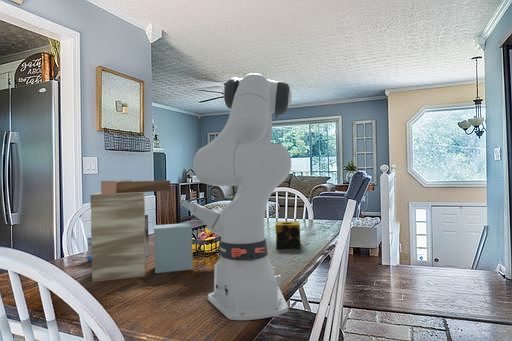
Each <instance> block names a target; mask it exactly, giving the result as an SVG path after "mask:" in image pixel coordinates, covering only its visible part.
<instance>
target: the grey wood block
mask: <svg viewBox="0 0 512 341" xmlns="http://www.w3.org/2000/svg"><path fill="white" fill-rule="evenodd" d="M89 198H90V199H89V200H90V234H91V235H90V237H91V245H92V261H91V278H92V281H91V282H92V283H93V282H94V283H95V282H106V281H113V280H114V281H115V280H124V279H132V278H141V277H143V278H144V277H145V276H146V267H147V257H146V242H145V215H146V210H145V209H146V208H145V206H146V205H145V192H131V193H116V194H101V192H96V193H91V194H90V195H89Z"/></svg>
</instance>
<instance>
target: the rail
mask: <svg viewBox="0 0 512 341" xmlns="http://www.w3.org/2000/svg"><path fill="white" fill-rule="evenodd" d="M131 192H144V193H151V192H153V193H154V192H156V193H157V192H171V180H167V179H165V180H164V179H163V180H138V181H137V180H136V181H135V180H134V181H133V180H132V181H130V182H118V181H117V193H131Z"/></svg>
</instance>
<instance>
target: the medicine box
mask: <svg viewBox="0 0 512 341" xmlns="http://www.w3.org/2000/svg"><path fill="white" fill-rule="evenodd" d="M87 261H88V262H92V245H91V236H90V237H87Z"/></svg>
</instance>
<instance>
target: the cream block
mask: <svg viewBox="0 0 512 341" xmlns="http://www.w3.org/2000/svg"><path fill="white" fill-rule="evenodd" d="M130 181H133V179H119V180H117V182H130Z"/></svg>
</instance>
